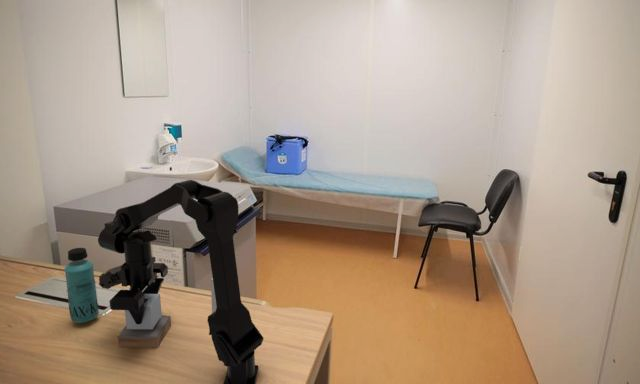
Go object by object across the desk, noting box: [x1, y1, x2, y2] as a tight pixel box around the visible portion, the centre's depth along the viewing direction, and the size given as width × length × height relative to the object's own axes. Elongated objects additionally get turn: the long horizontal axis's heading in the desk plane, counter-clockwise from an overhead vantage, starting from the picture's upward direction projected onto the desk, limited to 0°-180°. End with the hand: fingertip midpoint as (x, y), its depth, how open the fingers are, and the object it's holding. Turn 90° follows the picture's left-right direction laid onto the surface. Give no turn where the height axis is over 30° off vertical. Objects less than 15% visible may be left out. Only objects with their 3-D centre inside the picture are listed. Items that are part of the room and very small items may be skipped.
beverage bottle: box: [64, 247, 100, 324], centre depth 101 cm, size 6×7×20 cm
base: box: [117, 314, 172, 349], centre depth 97 cm, size 9×9×3 cm
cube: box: [124, 293, 163, 329], centre depth 96 cm, size 6×6×6 cm
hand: (144, 316), depth 96 cm, fingers closed on cube, 6 cm apart
